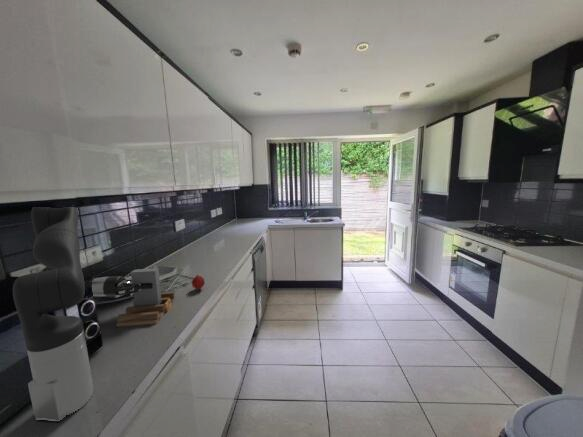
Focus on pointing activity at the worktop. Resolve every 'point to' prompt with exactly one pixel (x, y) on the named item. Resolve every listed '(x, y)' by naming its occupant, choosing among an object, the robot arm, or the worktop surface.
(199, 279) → the onion
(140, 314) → the rack
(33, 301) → the robot arm
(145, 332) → the worktop surface
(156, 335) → the worktop surface
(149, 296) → the panel
